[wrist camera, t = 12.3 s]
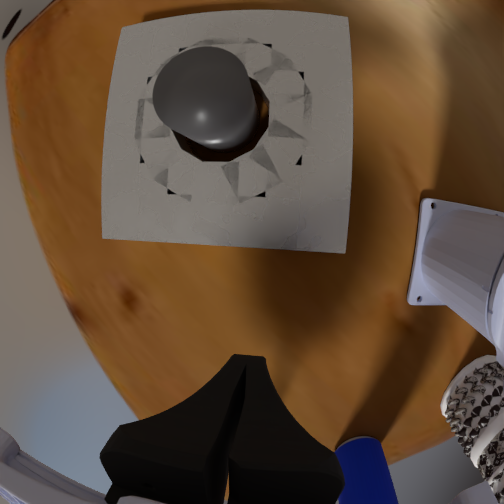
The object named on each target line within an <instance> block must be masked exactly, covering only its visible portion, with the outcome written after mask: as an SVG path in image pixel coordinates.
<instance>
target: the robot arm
mask: <svg viewBox="0 0 504 504" xmlns="http://www.w3.org/2000/svg"><path fill="white" fill-rule="evenodd" d="M432 202H433V203H434V208H433V209H432V208H431V203H432ZM419 296H420V299H419V300H418V301H417V297H419ZM407 302H408V303H409V304H410V305H447V306H448V307H449V308H451V309H452V310H453V311H454V312H456V313H457V314H458V315H459V316H461V317H462V318H463V319H464V320H465V321H467V322H468V323H469V324H470V325H471V326H473V327H474V328H475V329H476V330H477V331H478V332H480V333H481V334H482V335H483V336H484V337H485V338H487V339H488V340H489V341H490V342H491V343H492V344H493V345H494V346H495V347H496V352H497V355H496V360H497V361H498V362H499V363H500V364H501V365H502V366H503V367H504V213H503V212H499V211H495V210H490V209H485V208H480V207H476V206H471V205H465V204H460V203H455V202H449V201H443V200H438V199H432V198H424V199H422V201H421V204H420V214H419V224H418V233H417V241H416V248H415V255H414V262H413V268H412V273H411V279H410V284H409V289H408V294H407ZM503 392H504V381H503ZM100 460H101V463H102V465H103V467H104V468H105V471H106V472H107V474H108V476H109V478H110V479H111V481H112V485H111V487H110V489H109V491H108V493H107V494H106V495H105V494H102V493H100V492H98V491H95V490H93V489H91V488H89V487H86V486H84V485H82V484H80V483H78V482H76V481H74V480H72V479H70V478H68V477H66V476H64V475H62V474H60V473H58V472H56V471H55V470H53V469H51V468H50V467H48V466H46V465H44V464H43V463H41V462H39V461H38V460H36V459H34V458H33V457H31V456H30V455H28V454H27V453H25V452H23V451H22V450H20V447H19V445H18V444H17V442H16V441H15V439H14V438H13V437H12V436H11V435H10V434H9V433H7V432H6V431H4V430H3V429H2V428H0V495H1V496H2V497H3V498H4V499H5V500H7V501H8V502H9V503H10V504H223V503H224V497H225V491H226V485H227V479H228V473H229V498H228V503H227V504H335V503H336V501H337V500H338V498H339V496H340V495H341V493H342V491H343V489H344V486H345V478H344V474H343V471H342V468H341V465H340V463H339V460H338V458H337V456H336V454H335V453H334V452H332V451H331V450H329V449H328V448H327V447H325V446H324V445H322V444H321V443H319V442H318V441H317V440H316V439H314V438H313V437H312V436H311V435H310V434H309V433H308V432H307V431H306V430H305V429H304V428H303V427H302V426H301V425H300V424H299V423H298V422H297V421H296V420H295V418H294V417H293V416H292V415H291V413H290V412H289V411H288V409H287V408H286V406H285V405H284V403H283V402H282V400H281V398H280V397H279V395H278V393H277V391H276V389H275V387H274V385H273V382H272V380H271V378H270V375H269V372H268V369H267V365H266V359H265V358H264V357H263V356H251V355H240V354H234V355H232V356H231V357H230V359H229V360H228V361H227V363H226V364H225V365H224V366H223V367H222V368H221V370H220V371H219V372H218V373H217V374H216V375H215V376H214V377H213V378H212V379H211V380H210V381H209V382H207V383H206V384H205V385H204V386H203V387H202V388H201V389H199V390H198V391H197V392H196V393H194V394H193V395H191V396H190V397H189V398H187V399H186V400H184V401H183V402H181V403H179V404H177V405H176V406H174V407H172V408H170V409H168V410H166V411H164V412H161V413H159V414H157V415H154V416H151V417H149V418H146V419H143V420H139V421H136V422H132V423H127V424H123V425H120V426H119V427H118V428H117V430H116V431H115V432H114V433H113V434H112V436H111V437H110V439H109V440H108V441H107V443H106V445H105V446H104V448H103V449H102V451H101V453H100ZM449 504H498V501H497V499H496V497H495V495H494V493H493V491H492V489H491V487H490V485H489V483H488V481H484V482H482V483H480V484H478V485H475V486H473V487H471V488H468V489H466V490H464V491H462V492H461V493H459V494H458V495H457V496H456V497H455V498H454V499H453V500H452V502H451V503H449Z"/></svg>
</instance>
